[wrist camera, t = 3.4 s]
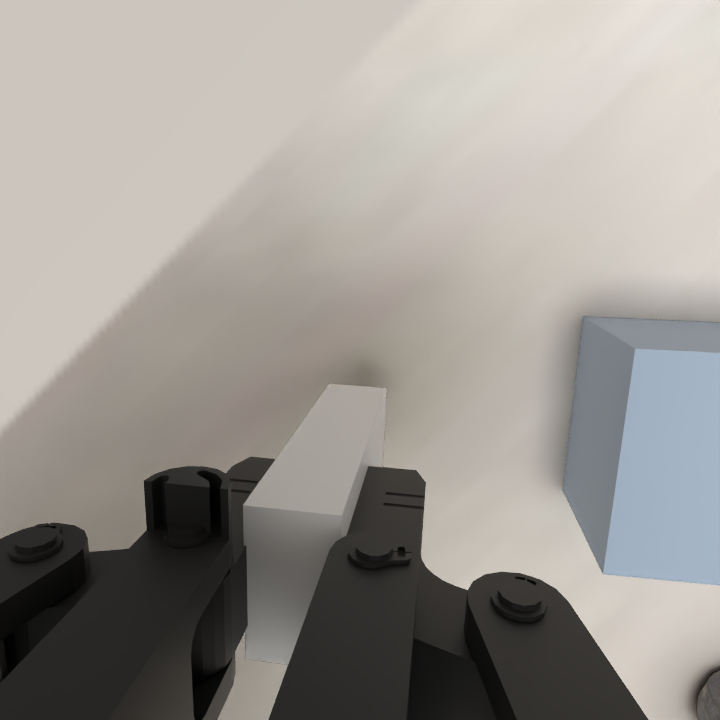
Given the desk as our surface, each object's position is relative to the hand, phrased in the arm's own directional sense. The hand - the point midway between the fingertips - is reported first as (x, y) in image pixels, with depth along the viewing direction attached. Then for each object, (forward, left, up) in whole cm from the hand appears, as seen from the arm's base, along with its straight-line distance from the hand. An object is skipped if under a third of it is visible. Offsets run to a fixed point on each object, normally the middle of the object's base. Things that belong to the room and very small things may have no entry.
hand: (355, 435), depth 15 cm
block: (+10, 0, -5) cm, 11 cm away
